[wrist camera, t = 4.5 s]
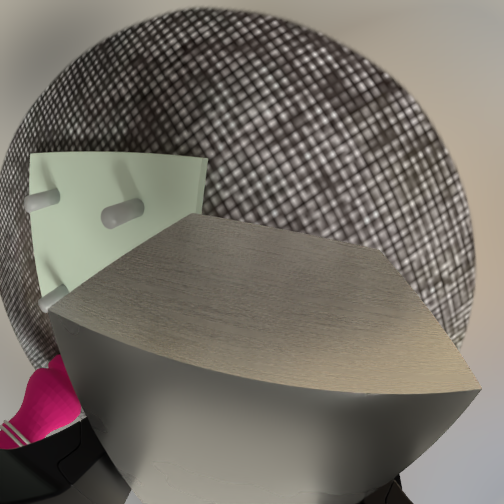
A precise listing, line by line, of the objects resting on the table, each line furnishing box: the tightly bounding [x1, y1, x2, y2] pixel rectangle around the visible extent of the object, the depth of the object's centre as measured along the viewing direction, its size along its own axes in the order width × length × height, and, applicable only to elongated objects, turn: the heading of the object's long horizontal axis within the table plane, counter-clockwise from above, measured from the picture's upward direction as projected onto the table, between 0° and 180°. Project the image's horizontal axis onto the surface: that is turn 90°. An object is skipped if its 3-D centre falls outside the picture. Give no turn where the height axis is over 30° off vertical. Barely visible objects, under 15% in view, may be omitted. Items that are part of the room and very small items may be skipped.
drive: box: [47, 213, 482, 504], centre depth 6 cm, size 10×5×5 cm, turn 171°
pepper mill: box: [0, 355, 81, 449], centre depth 16 cm, size 7×7×20 cm
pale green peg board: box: [24, 151, 208, 313], centre depth 17 cm, size 16×15×4 cm
